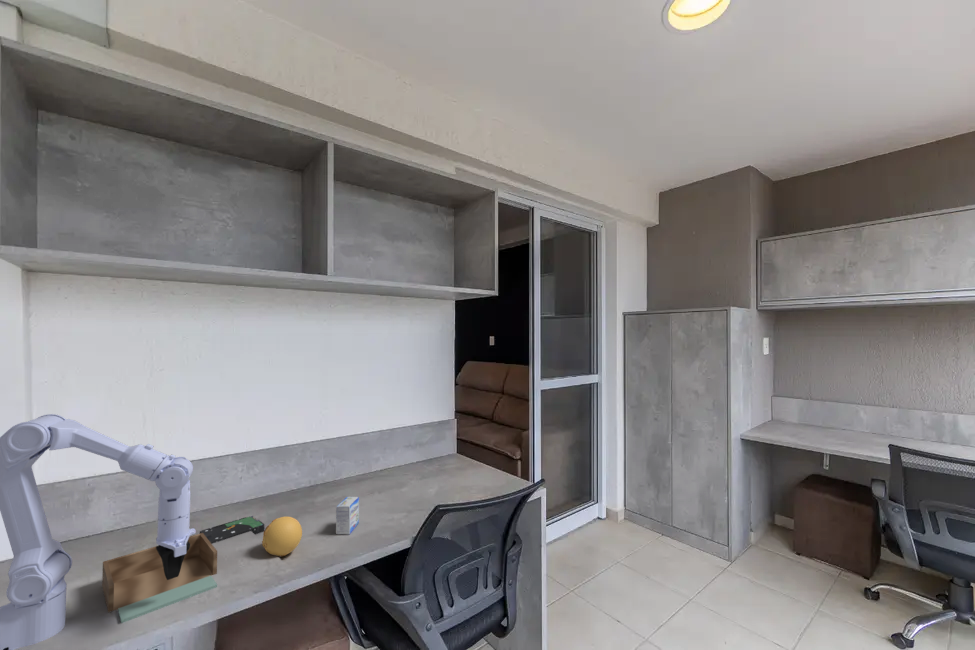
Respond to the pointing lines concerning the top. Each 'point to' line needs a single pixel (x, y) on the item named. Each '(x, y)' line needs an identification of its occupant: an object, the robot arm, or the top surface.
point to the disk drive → (233, 529)
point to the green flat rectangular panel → (165, 598)
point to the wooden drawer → (154, 573)
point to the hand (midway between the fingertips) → (172, 577)
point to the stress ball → (282, 536)
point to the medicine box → (347, 515)
